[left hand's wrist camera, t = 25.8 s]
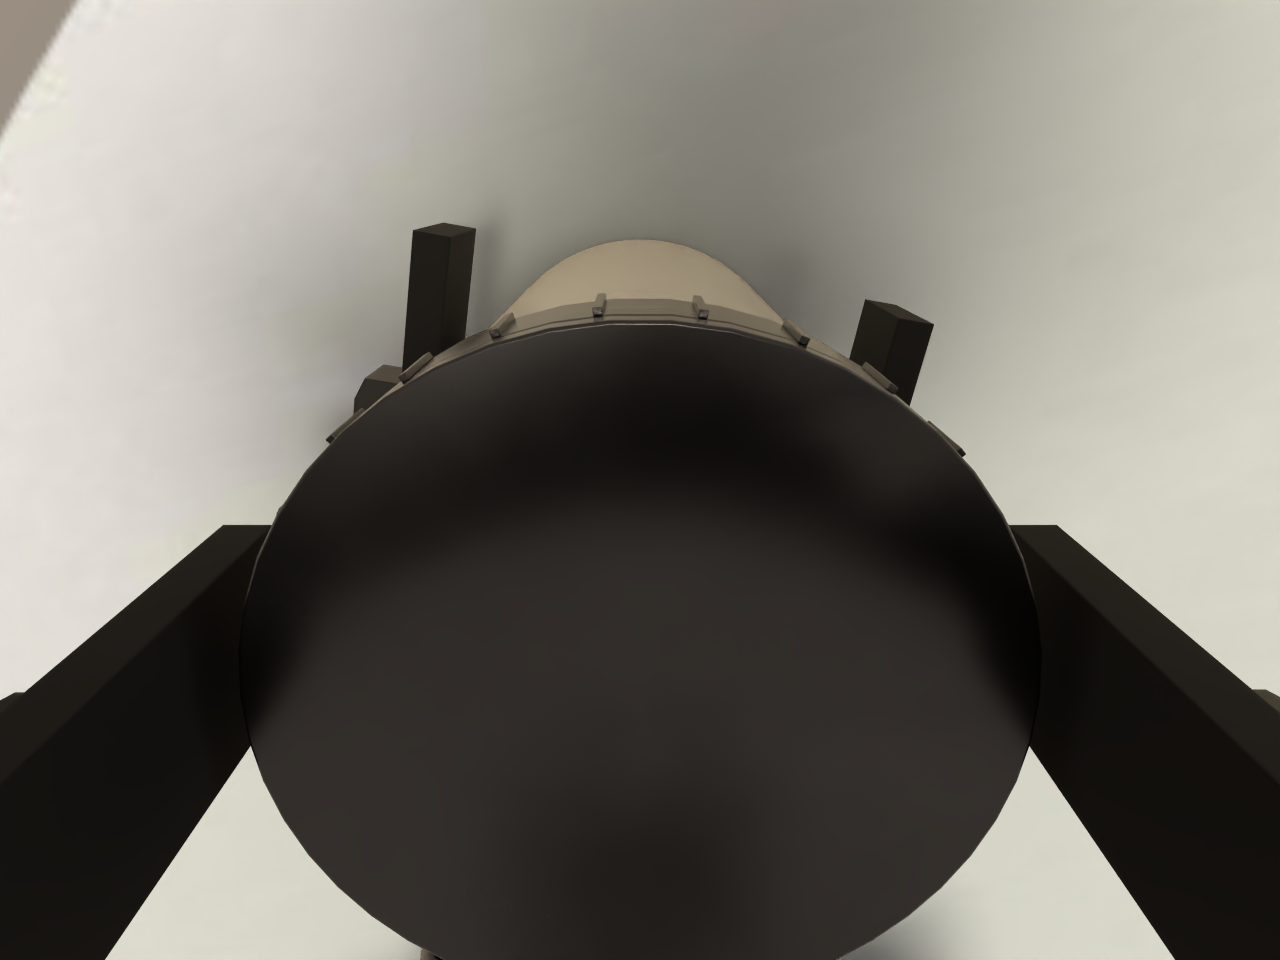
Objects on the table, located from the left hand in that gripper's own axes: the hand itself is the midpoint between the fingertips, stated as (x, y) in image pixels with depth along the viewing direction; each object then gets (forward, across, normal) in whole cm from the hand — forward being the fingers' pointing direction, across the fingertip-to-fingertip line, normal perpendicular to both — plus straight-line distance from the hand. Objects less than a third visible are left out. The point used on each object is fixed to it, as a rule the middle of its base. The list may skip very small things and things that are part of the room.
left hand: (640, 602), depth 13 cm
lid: (-3, 0, 0) cm, 3 cm away
